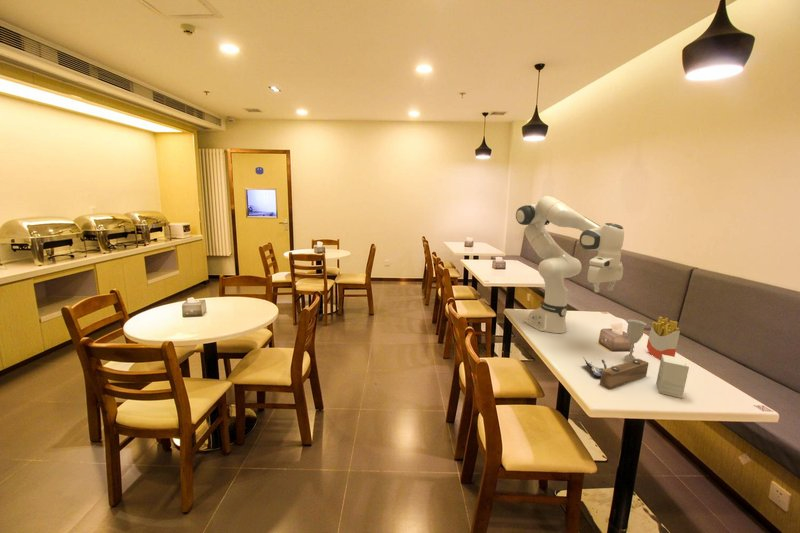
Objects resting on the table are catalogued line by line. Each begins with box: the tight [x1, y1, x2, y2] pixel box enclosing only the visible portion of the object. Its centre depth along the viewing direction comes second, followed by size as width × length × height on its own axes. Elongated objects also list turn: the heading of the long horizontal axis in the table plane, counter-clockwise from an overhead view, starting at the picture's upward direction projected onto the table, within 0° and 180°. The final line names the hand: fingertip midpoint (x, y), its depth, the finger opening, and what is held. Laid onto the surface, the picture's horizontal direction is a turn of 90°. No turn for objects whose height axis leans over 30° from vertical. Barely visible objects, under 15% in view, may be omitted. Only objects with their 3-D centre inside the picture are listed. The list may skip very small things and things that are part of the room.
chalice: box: [622, 319, 647, 363], centre depth 154 cm, size 7×7×18 cm
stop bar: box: [599, 358, 650, 390], centre depth 138 cm, size 4×24×7 cm, turn 118°
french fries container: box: [646, 316, 681, 361], centre depth 160 cm, size 5×11×18 cm, turn 5°
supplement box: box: [655, 354, 690, 399], centre depth 131 cm, size 7×7×13 cm
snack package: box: [583, 357, 608, 378], centre depth 144 cm, size 12×6×12 cm
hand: (603, 291), depth 158 cm, fingers open, 8 cm apart
